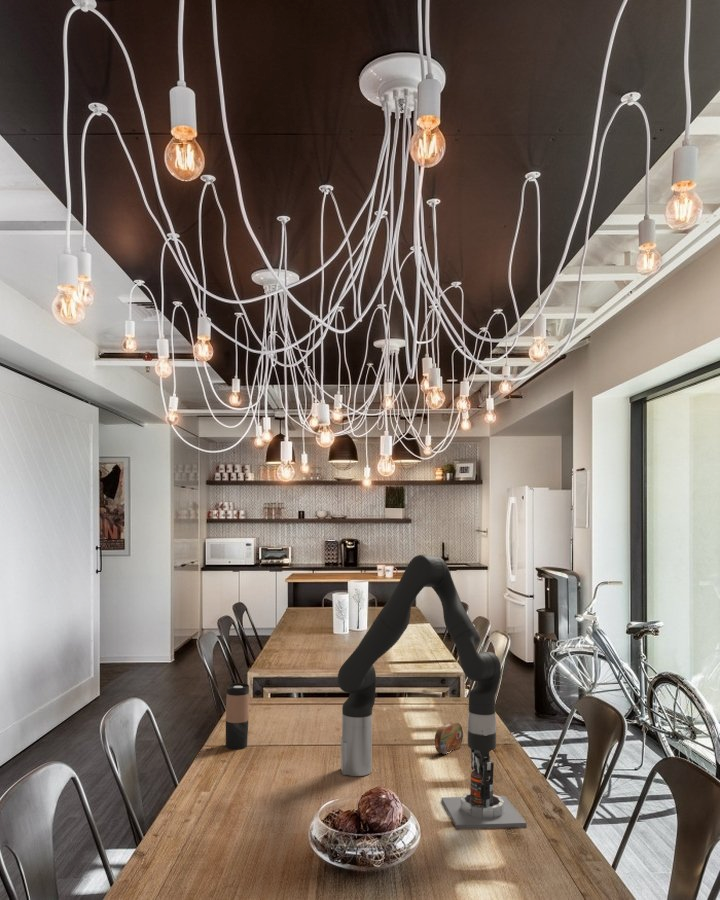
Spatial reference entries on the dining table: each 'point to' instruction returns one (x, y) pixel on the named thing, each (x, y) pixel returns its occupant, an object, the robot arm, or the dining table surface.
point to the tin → (448, 738)
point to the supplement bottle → (479, 790)
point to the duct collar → (482, 811)
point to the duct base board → (468, 822)
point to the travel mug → (237, 715)
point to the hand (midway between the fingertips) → (481, 794)
